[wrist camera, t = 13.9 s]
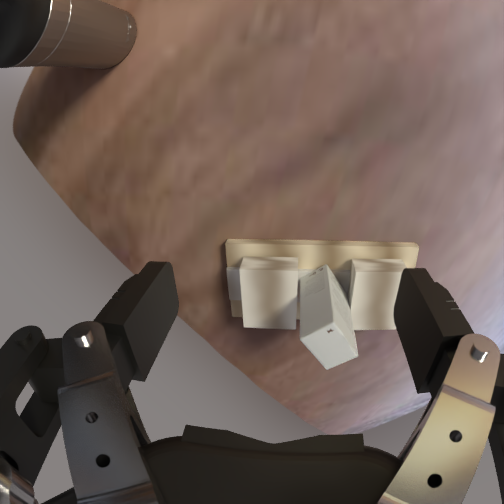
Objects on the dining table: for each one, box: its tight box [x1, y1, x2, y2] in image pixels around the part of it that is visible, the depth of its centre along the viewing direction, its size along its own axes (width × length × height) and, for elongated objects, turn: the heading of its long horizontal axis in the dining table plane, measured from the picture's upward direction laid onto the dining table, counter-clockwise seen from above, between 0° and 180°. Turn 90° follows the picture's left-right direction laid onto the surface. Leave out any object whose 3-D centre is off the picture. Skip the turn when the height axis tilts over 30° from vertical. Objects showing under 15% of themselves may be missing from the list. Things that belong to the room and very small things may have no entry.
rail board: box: [225, 239, 419, 330], centre depth 41 cm, size 26×12×6 cm, turn 92°
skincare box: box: [300, 264, 358, 370], centre depth 36 cm, size 6×4×12 cm
